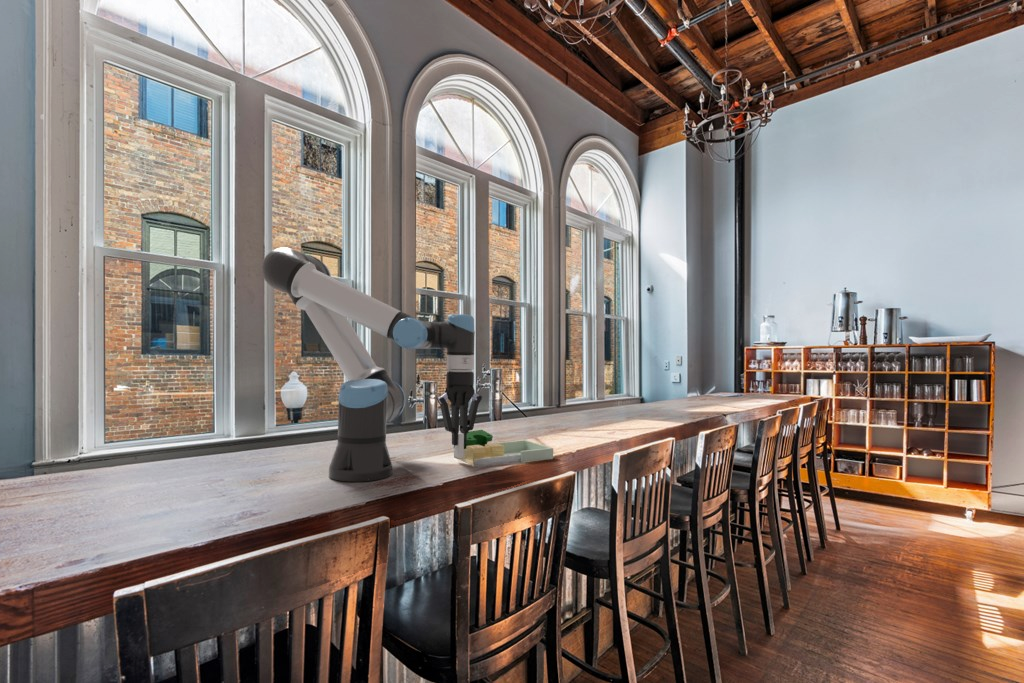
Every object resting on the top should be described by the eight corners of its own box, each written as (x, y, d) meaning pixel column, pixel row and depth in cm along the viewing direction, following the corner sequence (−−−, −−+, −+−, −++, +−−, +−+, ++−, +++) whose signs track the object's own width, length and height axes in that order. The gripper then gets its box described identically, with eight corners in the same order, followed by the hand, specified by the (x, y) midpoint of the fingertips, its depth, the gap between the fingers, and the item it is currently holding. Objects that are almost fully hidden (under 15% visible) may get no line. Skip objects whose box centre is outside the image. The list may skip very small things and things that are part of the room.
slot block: (476, 470, 134) (476, 459, 134) (453, 459, 145) (454, 450, 145) (520, 464, 142) (520, 454, 142) (495, 455, 153) (496, 446, 153)
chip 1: (472, 462, 139) (473, 448, 139) (466, 459, 142) (466, 445, 142) (485, 461, 141) (485, 447, 141) (478, 458, 144) (478, 444, 144)
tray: (521, 465, 141) (521, 451, 141) (495, 455, 153) (495, 442, 153) (553, 461, 147) (553, 448, 147) (525, 452, 159) (525, 439, 159)
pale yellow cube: (491, 460, 142) (492, 446, 142) (484, 458, 145) (485, 444, 145) (503, 459, 144) (504, 445, 144) (496, 456, 148) (496, 443, 148)
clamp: (468, 467, 155) (464, 443, 151) (455, 459, 159) (452, 436, 155) (495, 448, 163) (493, 425, 159) (483, 441, 167) (480, 418, 163)
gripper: (444, 371, 132) (442, 462, 132) (487, 371, 139) (486, 457, 139) (432, 370, 138) (431, 456, 138) (474, 369, 145) (473, 452, 145)
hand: (458, 456), depth 138 cm, fingers closed
